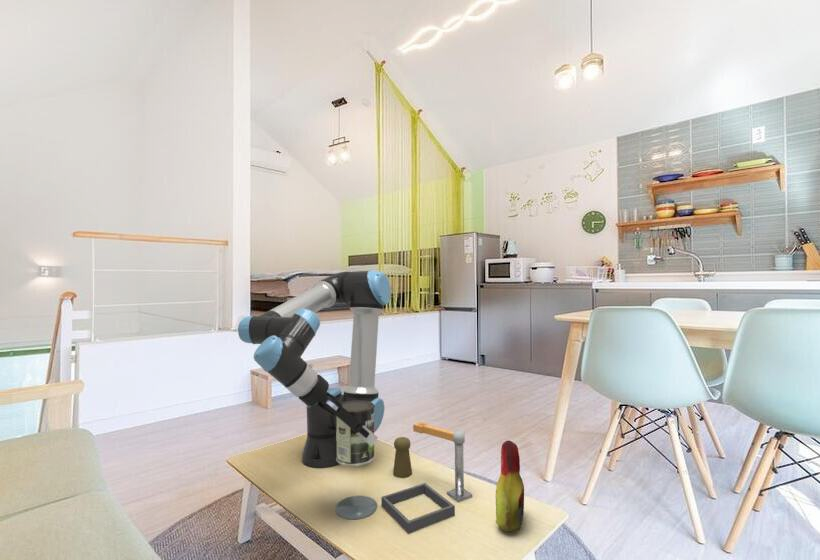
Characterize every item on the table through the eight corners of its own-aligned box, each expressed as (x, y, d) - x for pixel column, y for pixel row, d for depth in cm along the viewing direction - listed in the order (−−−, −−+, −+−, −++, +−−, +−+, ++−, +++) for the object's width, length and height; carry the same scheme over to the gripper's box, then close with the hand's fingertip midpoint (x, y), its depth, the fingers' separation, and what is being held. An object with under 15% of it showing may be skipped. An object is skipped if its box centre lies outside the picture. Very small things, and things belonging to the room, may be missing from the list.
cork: (394, 478, 124) (393, 443, 124) (391, 469, 130) (391, 435, 130) (413, 477, 125) (413, 441, 125) (410, 468, 131) (410, 434, 131)
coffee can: (378, 451, 112) (378, 400, 112) (368, 468, 102) (368, 412, 102) (343, 449, 114) (343, 399, 114) (330, 465, 104) (329, 410, 104)
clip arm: (419, 428, 124) (419, 419, 124) (466, 441, 114) (466, 431, 114) (413, 431, 122) (413, 422, 122) (460, 444, 111) (460, 435, 111)
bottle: (506, 507, 107) (505, 432, 107) (530, 514, 104) (529, 437, 104) (490, 532, 97) (489, 448, 97) (517, 540, 94) (516, 454, 94)
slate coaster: (329, 503, 110) (329, 502, 110) (366, 492, 116) (366, 491, 116) (344, 524, 101) (344, 523, 101) (384, 511, 106) (384, 510, 106)
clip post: (447, 494, 114) (446, 441, 114) (461, 489, 117) (460, 438, 117) (458, 502, 110) (457, 448, 110) (472, 497, 113) (471, 444, 113)
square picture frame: (381, 506, 109) (381, 496, 109) (425, 491, 116) (425, 482, 116) (408, 533, 97) (407, 523, 97) (454, 515, 104) (454, 505, 104)
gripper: (333, 382, 93) (394, 436, 101) (305, 365, 113) (357, 412, 121) (311, 409, 91) (375, 463, 99) (286, 387, 110) (341, 433, 118)
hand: (365, 435), depth 110 cm, fingers closed on coffee can, 10 cm apart
